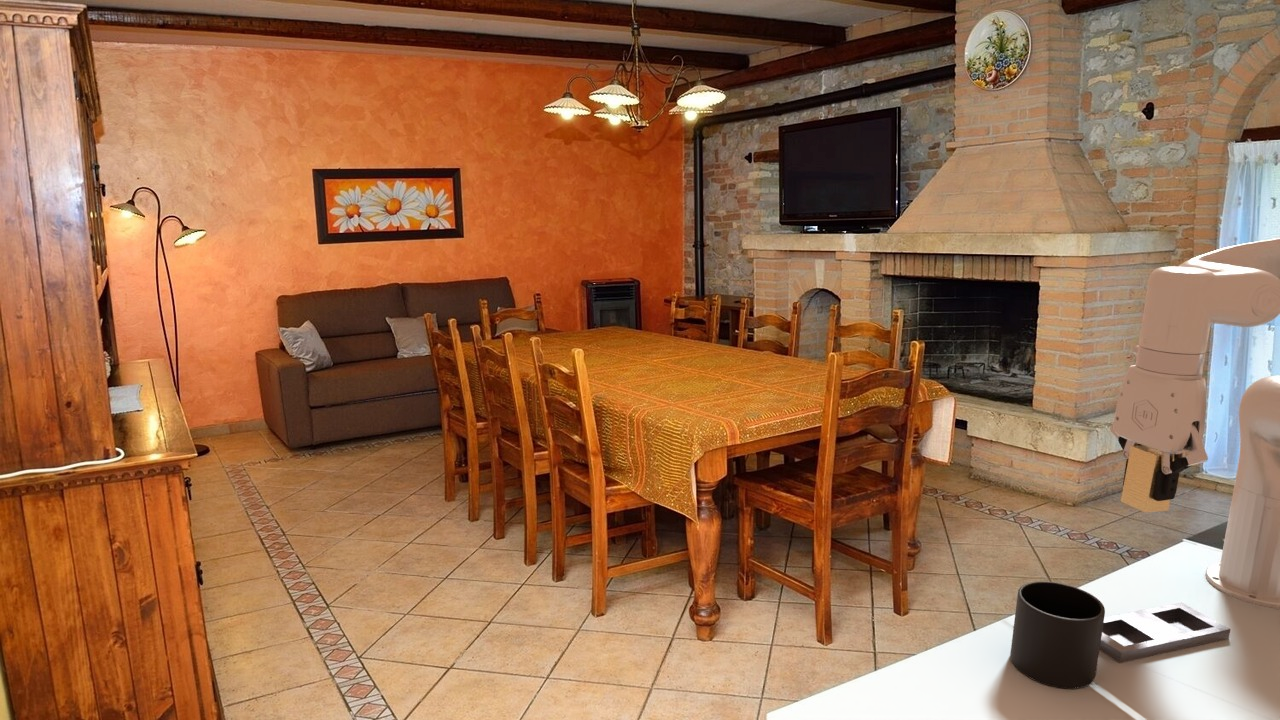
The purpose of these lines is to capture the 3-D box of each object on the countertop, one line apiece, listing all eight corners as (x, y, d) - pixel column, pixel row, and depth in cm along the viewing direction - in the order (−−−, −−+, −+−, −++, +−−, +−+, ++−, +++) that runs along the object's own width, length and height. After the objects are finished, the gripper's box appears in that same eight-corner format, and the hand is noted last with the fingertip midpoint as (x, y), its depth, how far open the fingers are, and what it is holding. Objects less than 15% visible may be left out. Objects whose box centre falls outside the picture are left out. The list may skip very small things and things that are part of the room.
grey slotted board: (1179, 615, 115) (1181, 602, 114) (1227, 642, 108) (1230, 629, 108) (1074, 637, 109) (1076, 623, 109) (1118, 667, 103) (1121, 652, 102)
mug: (1129, 675, 101) (1140, 607, 99) (1053, 697, 97) (1063, 626, 95) (1065, 635, 110) (1073, 572, 108) (993, 653, 105) (1000, 588, 103)
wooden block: (1142, 499, 117) (1153, 444, 115) (1168, 510, 113) (1179, 454, 111) (1120, 501, 116) (1131, 446, 114) (1145, 512, 112) (1156, 455, 110)
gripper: (1095, 350, 117) (1077, 474, 121) (1207, 379, 101) (1182, 520, 105) (1136, 347, 119) (1118, 469, 123) (1253, 375, 103) (1227, 513, 107)
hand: (1148, 491), depth 114 cm, fingers closed on wooden block, 4 cm apart
